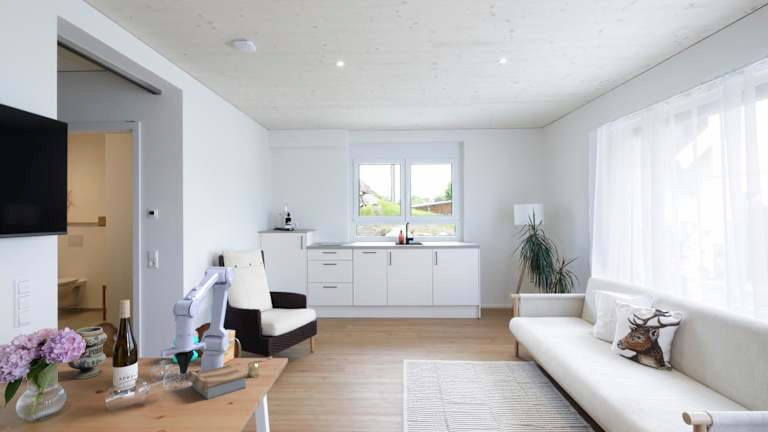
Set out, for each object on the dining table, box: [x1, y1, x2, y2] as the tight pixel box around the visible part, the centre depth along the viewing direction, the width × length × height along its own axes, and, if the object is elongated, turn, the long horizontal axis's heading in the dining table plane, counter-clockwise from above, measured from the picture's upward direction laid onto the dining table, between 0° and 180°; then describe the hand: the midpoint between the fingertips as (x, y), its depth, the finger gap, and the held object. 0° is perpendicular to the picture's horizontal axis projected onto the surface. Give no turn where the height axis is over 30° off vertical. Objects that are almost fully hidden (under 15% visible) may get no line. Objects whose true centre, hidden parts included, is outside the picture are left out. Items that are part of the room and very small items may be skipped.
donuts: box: [172, 335, 199, 364], centre depth 171 cm, size 10×10×10 cm
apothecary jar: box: [67, 326, 108, 380], centre depth 152 cm, size 12×12×18 cm
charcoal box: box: [191, 377, 247, 400], centre depth 143 cm, size 14×14×4 cm
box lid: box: [188, 364, 248, 392], centre depth 142 cm, size 14×16×3 cm
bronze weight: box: [246, 361, 260, 379], centre depth 155 cm, size 4×4×5 cm
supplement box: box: [215, 329, 236, 365], centre depth 171 cm, size 8×5×13 cm, turn 168°
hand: (183, 372), depth 134 cm, fingers closed
